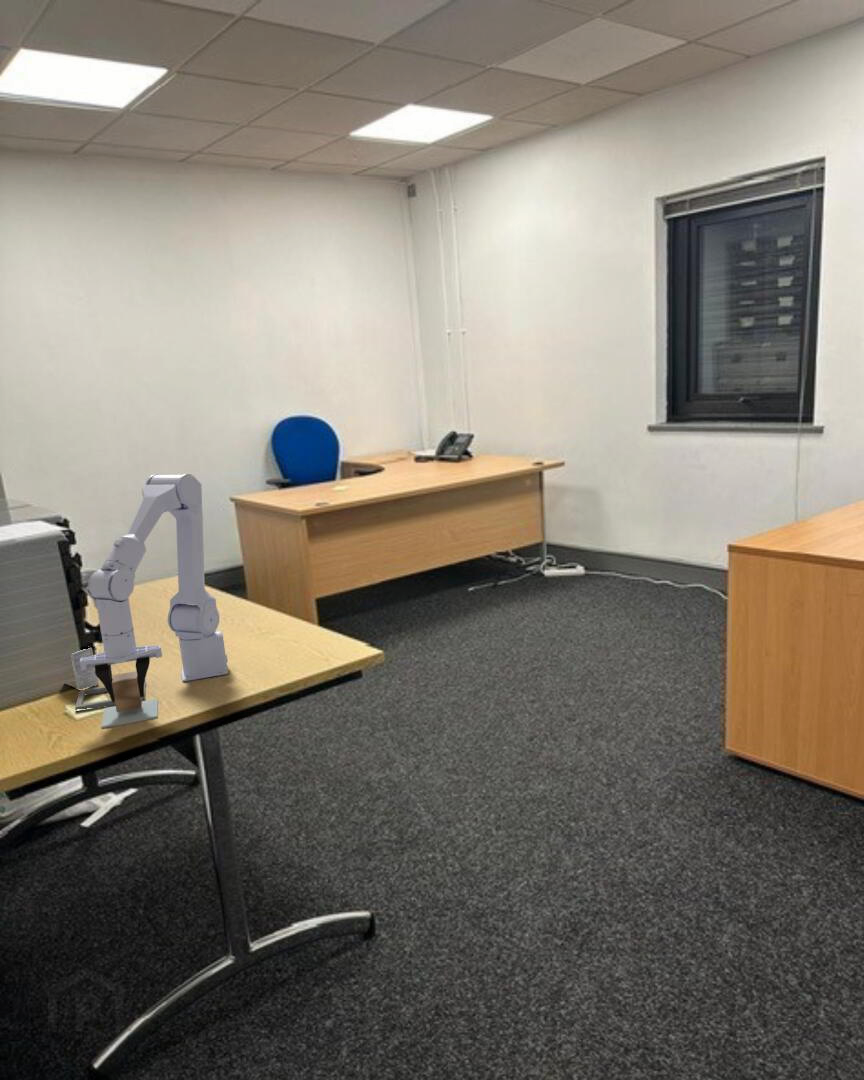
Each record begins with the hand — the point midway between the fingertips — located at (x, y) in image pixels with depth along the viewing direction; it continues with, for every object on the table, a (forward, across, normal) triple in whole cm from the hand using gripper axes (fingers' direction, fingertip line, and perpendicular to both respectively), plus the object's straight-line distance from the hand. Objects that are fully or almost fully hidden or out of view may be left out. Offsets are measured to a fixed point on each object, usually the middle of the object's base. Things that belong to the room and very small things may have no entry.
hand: (128, 697), depth 151 cm
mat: (+3, 0, 0) cm, 3 cm away
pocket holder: (+3, -4, +11) cm, 12 cm away
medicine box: (+4, -11, +22) cm, 25 cm away
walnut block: (+2, 0, 0) cm, 2 cm away
